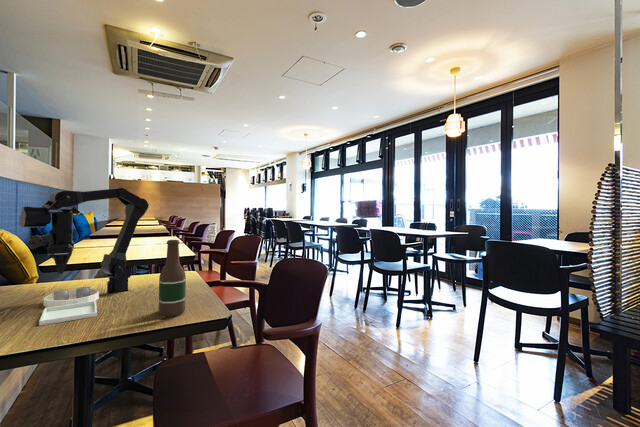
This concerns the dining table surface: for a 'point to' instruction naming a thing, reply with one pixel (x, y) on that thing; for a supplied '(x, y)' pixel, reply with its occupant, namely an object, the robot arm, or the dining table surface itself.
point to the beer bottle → (172, 283)
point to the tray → (68, 312)
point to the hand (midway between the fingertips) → (61, 271)
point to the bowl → (71, 299)
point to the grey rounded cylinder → (82, 292)
